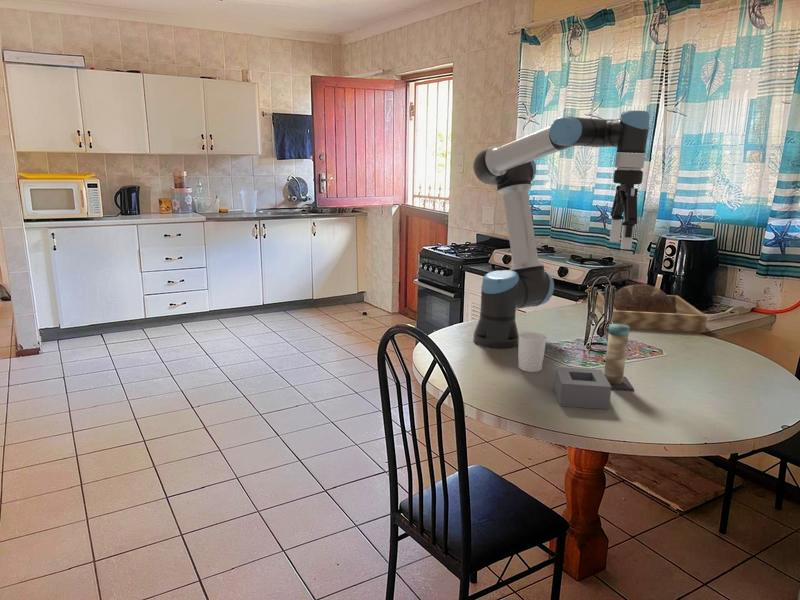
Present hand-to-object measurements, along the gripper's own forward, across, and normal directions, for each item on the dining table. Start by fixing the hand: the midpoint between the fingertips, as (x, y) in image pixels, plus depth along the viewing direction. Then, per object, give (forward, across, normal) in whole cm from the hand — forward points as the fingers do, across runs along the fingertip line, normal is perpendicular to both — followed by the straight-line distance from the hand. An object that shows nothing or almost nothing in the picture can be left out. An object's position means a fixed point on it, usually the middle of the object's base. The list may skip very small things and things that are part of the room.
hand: (619, 245), depth 168 cm
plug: (+36, -14, +1) cm, 39 cm away
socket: (+37, -26, +12) cm, 46 cm away
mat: (+37, -14, +1) cm, 39 cm away
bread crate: (+37, +60, -28) cm, 76 cm away
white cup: (+37, -6, +23) cm, 44 cm away
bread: (+37, +61, -26) cm, 76 cm away
